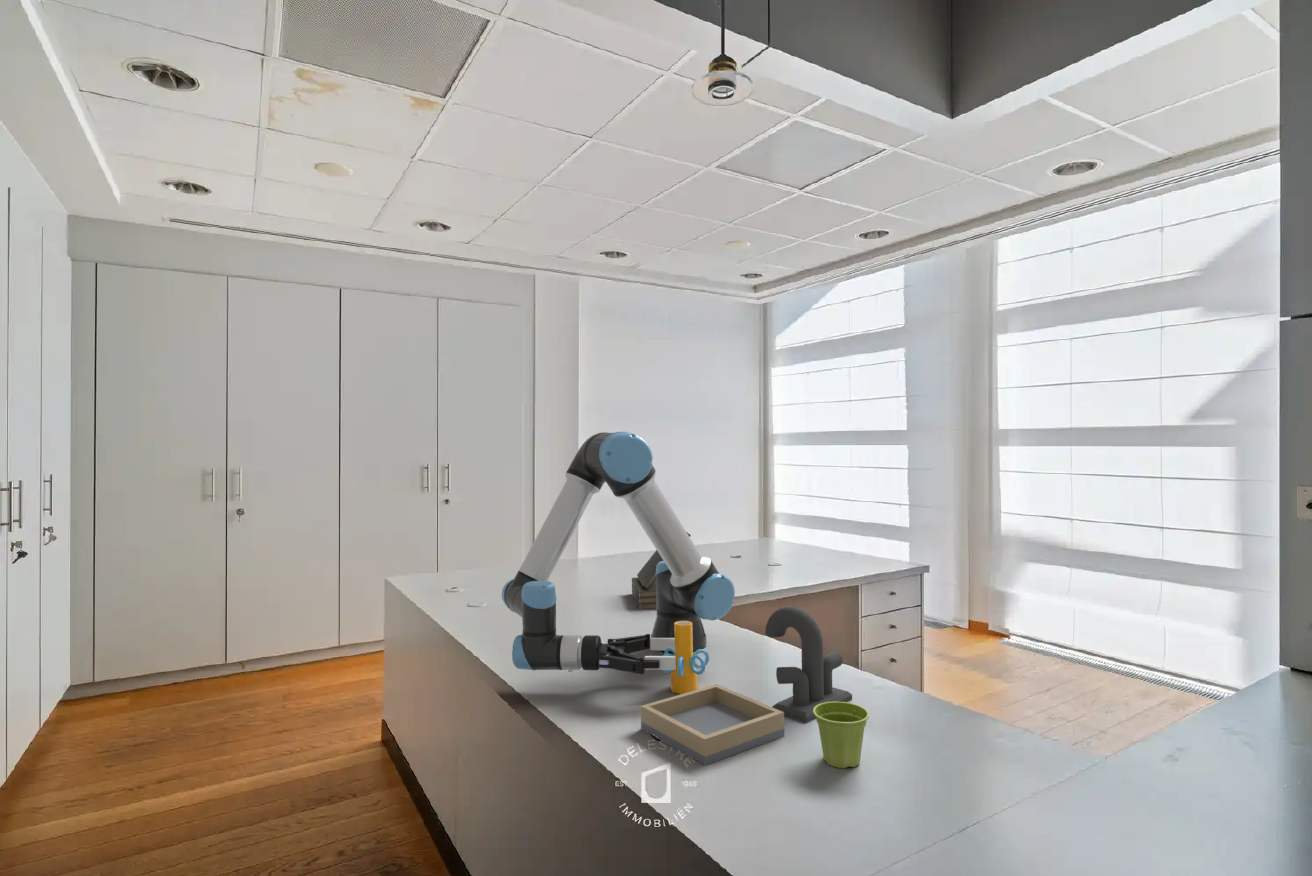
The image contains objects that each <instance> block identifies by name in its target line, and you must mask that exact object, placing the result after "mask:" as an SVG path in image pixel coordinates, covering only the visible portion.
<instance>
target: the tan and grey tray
mask: <svg viewBox="0 0 1312 876" xmlns="http://www.w3.org/2000/svg"><path fill="white" fill-rule="evenodd" d="M640 729H641V730H642V729H643V730H642V731H644V732H645V731H646V732H645V733H647V732H648V733H647V734H649V735H651V734H654V735H655V736H657V737H658V738H659V739H658V738H657V739H658V740H660V741H661V742H663V743H665V744H666V745H668V746H670V747H673V748H674V749H675V750H677V751H679V752H681V753H682V754H684V755H686V756H688V757H690V758H692V759H693V760H695V761H696V762H699V763H700V764H702V765H704V766H707V765H710V764H712V763H715V762H718V761H721V760H723V759H726V758H729V757H732V756H734V755H737V754H740V753H742V752H745V751H748V750H750V749H751V750H752V749H753V748H756V747H759V746H761V745H765V744H766V743H770V742H772V741H775V740H777V739H781V738H783V737H785V716H784V712H782V711H780V710H777V709H775V708H773V707H772V706H770V705H768V704H765V703H763V702H761V701H759V700H755V699H753V698H751V697H748V696H746V695H744V694H742V693H738V692H736V691H735V690H732V689H729V688H727V687H724V686H722V685H721V684H720V685H719V684H717V683H716V684H713V685H709V686H706V687H701V688H698V690H694V691H691V692H688V693H684V694H677V695H674V696H671V697H667V698H664V699H660V700H657V701H653V702H651V703H646V704H643V705H640Z"/></svg>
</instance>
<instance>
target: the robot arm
mask: <svg viewBox="0 0 1312 876" xmlns="http://www.w3.org/2000/svg"><path fill="white" fill-rule="evenodd" d="M653 456H654V455H653V452H652V450H651V447H650V445H649V443H648V442H647V441H646V440H645V439H644V438H642V437H641V436H639V435H637V434H635V433H631V432H628V431H616V432H604V431H603V432H598V433H596V434H593V435H591V436H590V437H588V438H587V439H585V441H584V442H583V443H582V445H581V446H580V448H579V449H578V450H577V452H576V453H575V456H574V457H573V460H572V461H571V463H570V465H569V467H568V469H567V470H566V472H565V474H564V475H565V479H566V481H565V483H564V485H563V486H562V487H561V490H560V492H559V494H558V496H557V498H556V499H555V501H554V502H553V505H552V507H551V509H550V511H549V513H548V515H547V517H546V519H545V520H544V522H543V524H542V526H541V528H540V530H539V532H538V534H537V535H536V538H535V539H534V541H533V543H532V545H531V547H530V548H529V550H528V553H527V554H526V556H525V558H524V560H523V562H522V564H521V565H520V567H519V569H518V571H517V572H516V574H515V576H514V578H512V579H510V580H509V581H507V582H506V583H505V584H504V586H503V587H502V589H501V599H502V601H503V604H504V605H505V606H506V608H508V609H509V610H510V611H511V612H513V613H515V614H517V615H518V616H520V617H521V618H522V619H521V620H522V633H521V634H519V635H517V636H515V637H514V640H513V642H512V649H511V650H512V651H511V657H512V664H513V666H514V667H515V668H516V669H518V670H527V671H528V670H529V671H530V670H531V671H552V670H553V671H554V670H555V671H557V670H558V671H568V672H569V673H571V672H573V671H580V670H581V669H582V670H584V671H598V670H600V669H611V670H616V671H621V672H627V673H632V674H637V675H638V674H639V675H644V674H645V670H646V671H657V670H658V671H661V670H675V669H676V664H675V655H673V656H663V655H645V656H644V657H642V656H638V655H635V654H633V653H637V652H640V651H641V652H642V651H645V650H649V649H650V650H649V651H659V652H660V651H661V652H665V650H666V649H667V648H673V649H675V632H674V623H675V622H677V621H690V622H692V634H693V652H695V651H697V650H699V649H704V648H705V647H707V645H706V644H708V643H707V635H706V631H705V628H704V624H703V622H702V620H707V621H716V620H717V621H718V620H720V619H722V618H723V617H725V616H726V615H727V614H728V613H729V612H730V610H731V608H732V607H733V604H734V599H735V597H736V589H735V585H734V583H733V582H732V580H731V579H730V578H729V577H728V576H726V575H725V574H723V573H720V572H719V571H718V569H717V568H716V566H715V564H714V563H713V561H712V559H711V558H710V557H709V556H708V555H702V554H701V553H700V551H699V550H698V549H697V547H696V545H695V544H694V542H693V541H692V538H691V536H690V537H689V535H688V534H687V533H688V532H687V531H686V529H685V527H684V526H683V524H682V522H681V521H680V520H679V517H678V516H677V514H676V512H675V511H674V510H673V508H672V506H671V505H670V503H669V501H668V500H667V498H666V497H665V495H664V493H663V492H662V490H661V489H660V487H659V485H658V483H657V482H656V481H655V477H656V474H657V470H656V468H655V467H654V466H653V460H654V457H653ZM605 483H606V484H607V486H608V487H609V489H610V491H611V492H612V493H613V495H614V496H615V497H616V498H619V499H624V501H625V502H626V504H627V505H628V507H629V508H630V510H631V512H632V513H633V515H634V517H635V518H636V520H637V521H638V523H639V524H640V526H641V527H642V529H643V531H644V532H645V534H646V535H647V536H648V538H649V541H650V542H651V544H652V545H653V546H654V548H655V549H656V550H657V551H658V553H659V554H660V556H661V557H662V559H663V560H664V561H661V562H659V563H658V564H657V566H656V574H655V577H656V605H657V609H656V617H655V621H654V625H653V628H652V632H651V633H646V634H643V635H637V636H636V635H635V636H628V637H620V638H608V639H607V643H602V638H601V637H600V635H594V634H593V635H591V634H590V635H586V634H585V635H584V636H582V635H580V634H576V635H575V634H571V635H570V634H567V635H566V634H565V635H563V634H562V635H559V634H557V593H556V586H555V584H554V582H552V581H549V579H550V577H551V575H552V574H553V572H554V569H555V568H556V566H557V565H558V562H559V560H560V558H561V556H562V554H563V553H564V551H565V549H566V547H567V545H568V543H569V541H570V539H571V538H572V535H573V533H574V531H575V530H576V528H577V526H578V524H579V522H580V520H581V518H582V517H583V515H584V513H585V511H586V509H587V507H588V505H589V504H590V501H591V499H592V498H593V496H594V494H598V493H599V492H601V489H602V487H603V486H604V485H605ZM668 653H672V652H671V651H669V652H668Z"/></svg>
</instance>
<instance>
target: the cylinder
mask: <svg viewBox="0 0 1312 876" xmlns="http://www.w3.org/2000/svg"><path fill="white" fill-rule="evenodd" d="M674 632H675V649H673V648H667V649H666V650H665V651H663V652H664V653H663V655H662V656H675V664H676V669H675V670H660V671H661V672H662V673H664V674H670V690H671V692H672V693H675V694H677V695H681V694H684V693H688V692H691V691H694V690H698V689H699V686H698V685H699V683H698V680H699V679H698V678H699V676H700V675H702V674H704V672H705V670H706V666H708V663H709V661H710V655H709V652H708V651H707V650H705V649H704V648H702V649H699V650H696V651H693V634H692V622H690V621H677V622H675V623H674ZM669 651H671V652H669ZM671 653H673V654H671ZM698 654H704V656H705V659H704V658H703V657H702V656H700V655H698ZM696 659H697V660H699V662H700V664H698V663H697V662H696ZM697 669H700V670H697ZM698 675H699V676H698Z"/></svg>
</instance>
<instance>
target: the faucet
mask: <svg viewBox="0 0 1312 876" xmlns="http://www.w3.org/2000/svg"><path fill="white" fill-rule="evenodd" d="M788 628H793V629H794V630H795V631H796V632H797V634H799V637H800V640H801V644H800V645H801V668H799V667H797V666H779V667H776V671H775V672H776V673H775V674H776V681H777V684H778V685H788V684H789V685H790V684H792V695H791V696H790V697H788V698H787V697H786V698H785V699H783V700H781V701H779V702H777V703H775V704H774V705H772V706H771V707H773V708H775V709H777V710H780V711H782V712H784V717H786V718H790V719H792V720H797V721H798V722H799V721H800V722H802V723H806V724H808V723H810V722H811V721H813V720H815V719H816V716H815V715H814V713H813V709H814V707H815V706H817V705H818V704H821V703H825V702H848V703H849V702H850V701H852V700H853V693H851V692H850V691H848V690H843V689H841V688H838V687H833V670H836V669H837V668H839V667H841V666H842V665H843V657H842V655H841V654H840V653H839V652H837V651H832V652H829V653H827V654H825V655H824V641H823V640H824V639H823V634H822V631H821V628H820V627H819V625H818V623H817V621H816V620H815V618H814V617H813V616H812V615H811V614H810V613H808V612H807V611H806V610H805V609H802V608H800V607H798V606H793V605H791V606H790V605H788V606H787V605H785V606H783V607H782V606H781V607H780V608H778V609H776V610H775V611H774V612H772V613H771V614H770V616H769V617H768V619H767V623H766V624H765V631H764V634H765V635H766V636H767V637H768V638H782V637H784V636H785V635H786V632H787V630H788Z"/></svg>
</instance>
